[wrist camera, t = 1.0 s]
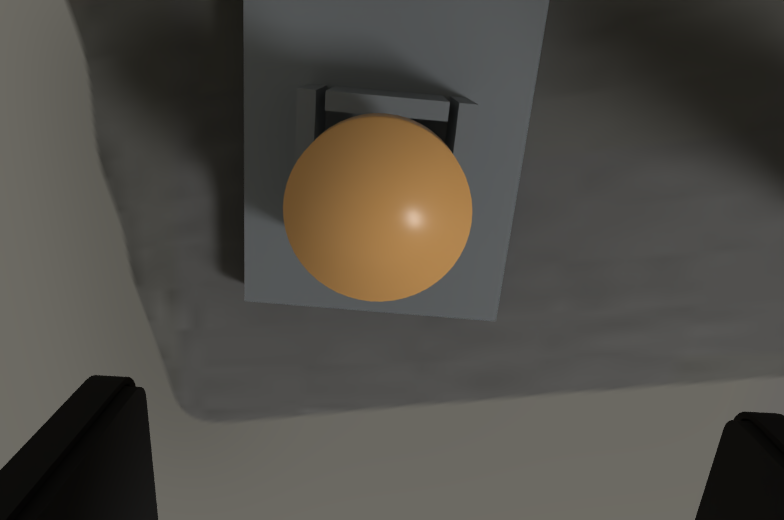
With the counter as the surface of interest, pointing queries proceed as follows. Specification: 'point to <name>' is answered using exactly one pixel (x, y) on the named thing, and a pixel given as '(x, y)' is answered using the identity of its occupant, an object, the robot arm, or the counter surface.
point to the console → (392, 96)
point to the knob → (377, 208)
